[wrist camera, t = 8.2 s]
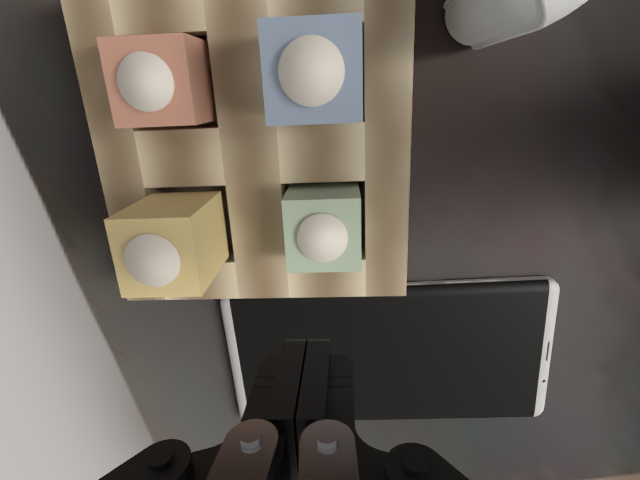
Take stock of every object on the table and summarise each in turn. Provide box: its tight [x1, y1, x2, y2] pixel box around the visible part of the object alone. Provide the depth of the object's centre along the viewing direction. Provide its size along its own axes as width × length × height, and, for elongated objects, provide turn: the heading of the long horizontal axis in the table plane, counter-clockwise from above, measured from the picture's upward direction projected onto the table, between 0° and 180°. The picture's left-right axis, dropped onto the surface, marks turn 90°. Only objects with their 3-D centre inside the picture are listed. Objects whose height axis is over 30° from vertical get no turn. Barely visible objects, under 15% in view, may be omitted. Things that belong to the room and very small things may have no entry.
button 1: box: [96, 32, 217, 129], centre depth 25 cm, size 5×5×6 cm
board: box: [60, 0, 415, 300], centre depth 28 cm, size 20×20×4 cm
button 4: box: [281, 181, 362, 273], centre depth 27 cm, size 5×5×6 cm
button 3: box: [257, 12, 363, 126], centre depth 21 cm, size 5×5×6 cm
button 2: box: [104, 191, 229, 298], centre depth 25 cm, size 5×5×6 cm
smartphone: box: [220, 276, 559, 420], centre depth 36 cm, size 13×27×2 cm, turn 94°
